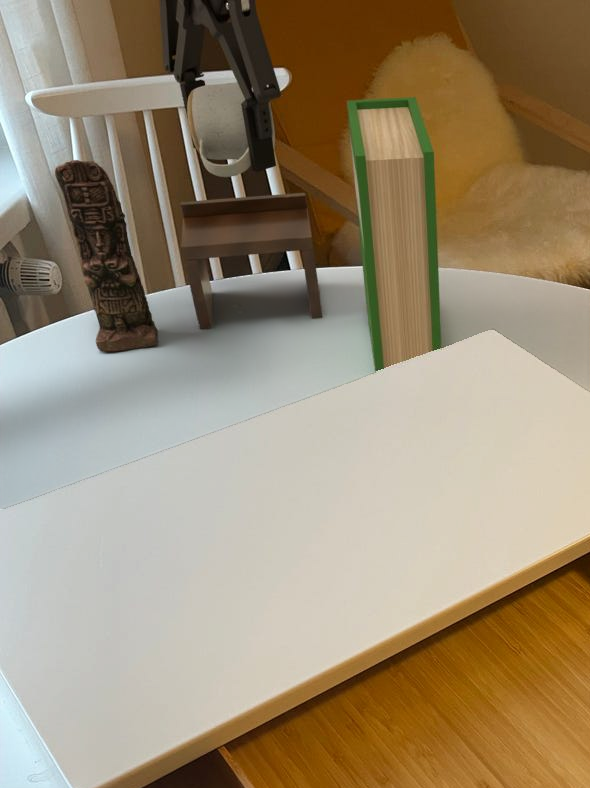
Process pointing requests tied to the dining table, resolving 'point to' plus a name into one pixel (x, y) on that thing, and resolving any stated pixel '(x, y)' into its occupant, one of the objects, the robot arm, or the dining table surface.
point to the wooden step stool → (245, 240)
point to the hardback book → (396, 227)
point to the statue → (106, 257)
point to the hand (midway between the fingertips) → (234, 156)
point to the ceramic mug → (220, 127)
